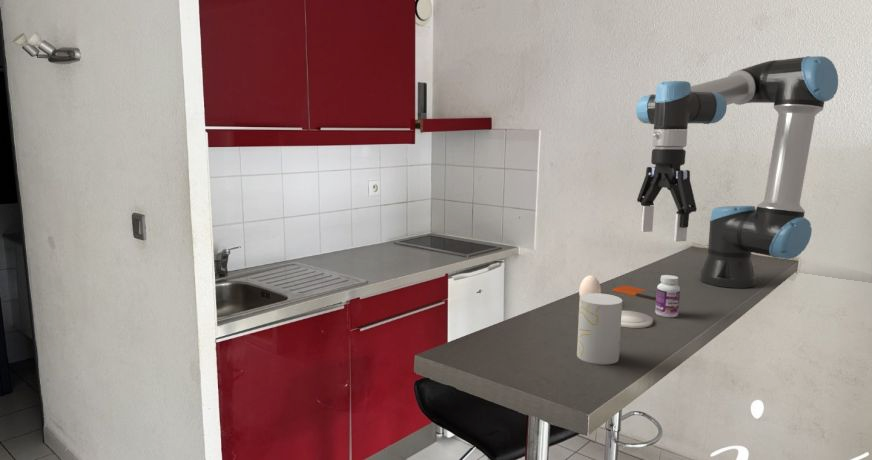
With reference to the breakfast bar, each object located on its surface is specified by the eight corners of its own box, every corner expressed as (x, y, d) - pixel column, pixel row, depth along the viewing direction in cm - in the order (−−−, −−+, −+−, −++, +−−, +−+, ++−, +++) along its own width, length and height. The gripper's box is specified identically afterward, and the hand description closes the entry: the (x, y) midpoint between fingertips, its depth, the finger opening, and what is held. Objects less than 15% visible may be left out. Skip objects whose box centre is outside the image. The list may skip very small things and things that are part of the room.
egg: (604, 306, 155) (606, 276, 153) (589, 309, 152) (591, 279, 151) (589, 301, 159) (590, 272, 158) (574, 304, 157) (575, 274, 155)
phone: (624, 284, 174) (673, 295, 163) (624, 288, 174) (673, 299, 163) (611, 288, 170) (661, 299, 159) (611, 292, 170) (661, 304, 159)
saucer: (635, 312, 150) (635, 308, 150) (662, 326, 139) (662, 321, 139) (595, 315, 147) (596, 311, 147) (620, 329, 136) (620, 325, 136)
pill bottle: (667, 319, 144) (670, 280, 143) (650, 313, 149) (653, 275, 148) (683, 316, 147) (686, 277, 145) (665, 310, 152) (668, 273, 150)
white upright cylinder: (571, 349, 124) (574, 293, 122) (609, 348, 125) (613, 292, 123) (584, 364, 116) (587, 305, 114) (625, 363, 117) (629, 304, 115)
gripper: (626, 146, 153) (621, 228, 157) (688, 149, 130) (681, 246, 133) (652, 146, 155) (647, 227, 159) (718, 149, 131) (710, 244, 135)
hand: (662, 236), depth 146 cm, fingers open, 13 cm apart
